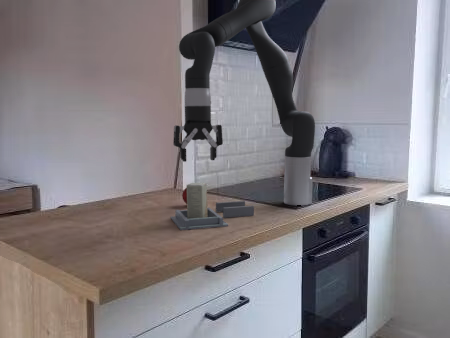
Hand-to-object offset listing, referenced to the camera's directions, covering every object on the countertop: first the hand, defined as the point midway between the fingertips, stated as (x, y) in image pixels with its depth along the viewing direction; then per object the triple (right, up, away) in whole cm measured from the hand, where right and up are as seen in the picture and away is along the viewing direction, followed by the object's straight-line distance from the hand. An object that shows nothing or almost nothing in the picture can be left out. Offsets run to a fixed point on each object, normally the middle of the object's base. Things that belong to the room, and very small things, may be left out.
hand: (198, 160), depth 120 cm
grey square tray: (0, -18, +3) cm, 19 cm away
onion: (-4, -16, +24) cm, 29 cm away
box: (-1, -18, +3) cm, 18 cm away
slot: (+11, -17, +14) cm, 24 cm away
